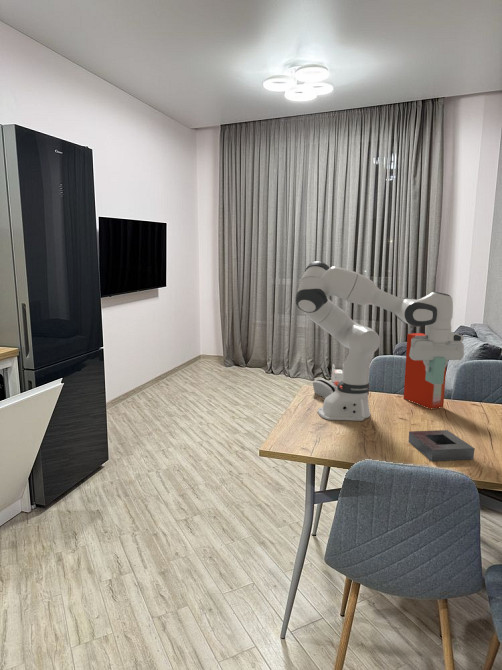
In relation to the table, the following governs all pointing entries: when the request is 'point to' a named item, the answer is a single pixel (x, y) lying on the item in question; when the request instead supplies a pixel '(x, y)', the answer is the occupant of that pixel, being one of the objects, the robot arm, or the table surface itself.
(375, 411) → the table surface
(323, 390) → the grey napkin holder
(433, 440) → the collar block
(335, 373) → the ink cartridge box
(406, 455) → the table surface
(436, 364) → the sage green box
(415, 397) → the file binder
